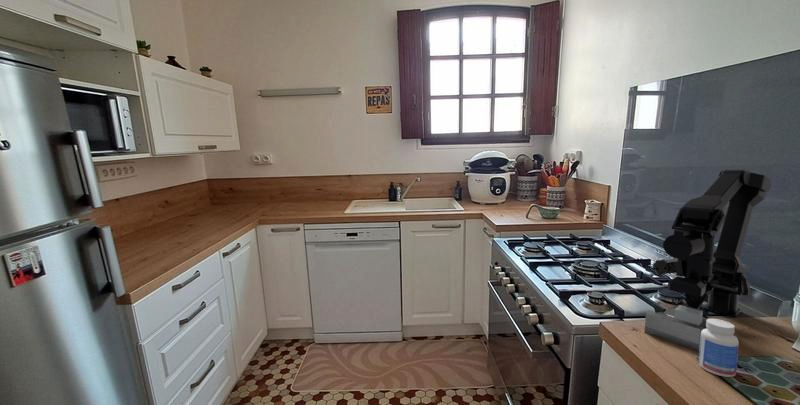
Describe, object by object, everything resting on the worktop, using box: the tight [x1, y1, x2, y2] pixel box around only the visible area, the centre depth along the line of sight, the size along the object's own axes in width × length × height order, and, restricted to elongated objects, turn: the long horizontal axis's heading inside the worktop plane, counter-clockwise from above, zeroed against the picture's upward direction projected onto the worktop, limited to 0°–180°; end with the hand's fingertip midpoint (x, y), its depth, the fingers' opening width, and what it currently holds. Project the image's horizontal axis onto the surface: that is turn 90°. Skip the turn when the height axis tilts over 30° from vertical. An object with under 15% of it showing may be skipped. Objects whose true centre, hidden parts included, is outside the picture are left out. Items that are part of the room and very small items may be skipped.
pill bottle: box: [698, 318, 740, 378], centre depth 64 cm, size 6×5×10 cm
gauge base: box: [644, 308, 708, 352], centre depth 79 cm, size 17×10×5 cm, turn 124°
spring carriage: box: [666, 304, 704, 325], centre depth 81 cm, size 4×7×3 cm, turn 34°
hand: (692, 312), depth 82 cm, fingers closed
